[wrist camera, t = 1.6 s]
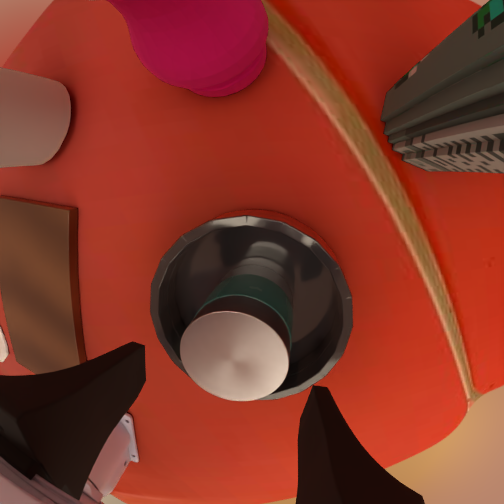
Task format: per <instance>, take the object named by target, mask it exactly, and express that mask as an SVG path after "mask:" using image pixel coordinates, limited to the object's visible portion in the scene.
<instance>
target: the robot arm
mask: <svg viewBox="0 0 504 504" xmlns="http://www.w3.org/2000/svg"><path fill="white" fill-rule="evenodd" d="M145 381H146V370H145V345H142V344H139V343H136V342H133V341H132V342H130V343H128V344H125V345H123V346H121V347H119V348H117V349H115V350H112V351H110V352H108V353H106V354H104V355H101V356H99V357H97V358H94V359H92V360H89V361H87V362H84V363H81V364H79V365H76V366H73V367H69V368H66V369H62V370H58V371H54V372H48V373H42V374H36V375H24V376H5V375H0V504H104V503H103V502H101V499H102V497H104V496H107V495H108V494H110V493H111V492H112V491H113V489H114V488H115V486H116V484H117V483H118V481H119V479H120V478H121V476H122V474H123V472H124V471H125V469H126V467H127V466H128V464H129V462H130V461H134V462H139V456H138V450H137V444H136V438H135V432H134V426H133V419H132V416H131V415H130V414H128V413H126V412H127V411H128V409H129V408H130V407H131V405H132V404H133V403H134V401H135V400H136V398H137V397H138V395H139V393H140V391H141V389H142V387H143V385H144V383H145ZM296 504H425V503H424V500H423V497H422V496H421V495H420V494H418V493H416V492H415V491H413V490H411V489H410V488H408V487H407V486H405V485H404V484H402V483H401V482H399V481H398V480H397V479H396V478H394V477H393V476H392V475H390V474H389V473H388V472H387V471H386V470H385V469H384V468H383V467H381V466H380V465H379V464H378V463H377V462H376V461H375V460H374V459H373V458H372V457H371V456H370V454H369V453H368V452H367V451H366V450H365V449H364V447H363V446H362V445H361V444H360V442H359V441H358V440H357V438H356V437H355V435H354V434H353V432H352V431H351V429H350V428H349V426H348V424H347V423H346V421H345V419H344V418H343V416H342V414H341V412H340V411H339V409H338V407H337V405H336V403H335V401H334V399H333V397H332V395H331V393H330V391H329V389H328V388H327V387H321V386H314V385H313V387H312V389H311V392H310V395H309V397H308V400H307V403H306V405H305V408H304V410H303V413H302V415H301V418H300V425H299V434H298V490H297V498H296Z"/></svg>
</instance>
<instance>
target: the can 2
mask: <svg viewBox="0 0 504 504" xmlns="http://www.w3.org/2000/svg"><path fill="white" fill-rule="evenodd" d="M381 121H384V122H386V125H385V129H384V134H385V135H388V136H389V139H388V142H389V143H392V144H393V148H392V150H394V151H396V152H399V153H401V154H403V156H402V161H405V162H407V163H410V164H412V165H414V166H417V167H419V168H421V169H424V170H426V171H454V172H486V173H504V0H489V1H488V2H487V3H486V4H485V5H483V6H482V7H481V8H480V9H479V10H478V11H476V12H475V13H474V14H473V15H472V16H471V17H469V18H468V19H467V20H466V21H465V22H464V23H462V24H461V25H460V26H459V27H458V28H457V29H456V30H454V31H453V32H452V33H451V34H450V35H449V36H448V37H447V38H445V39H444V40H443V41H442V42H441V43H440V44H439V45H438V46H436V47H435V48H434V49H433V50H432V51H431V52H430V53H429V54H427V55H426V56H425V57H424V58H423V59H422V60H421V61H420V62H419V63H417V64H416V65H415V66H414V67H413V68H412V69H411V70H410V71H409V72H408V73H406V74H405V75H404V76H403V77H402V78H401V79H400V80H399V81H398V82H397V83H396V84H394V86H393V87H392V88H391V89H390V90H389V91H388V92H387V93H386V97H385V102H384V106H383V111H382V115H381Z"/></svg>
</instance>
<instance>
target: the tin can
mask: <svg viewBox="0 0 504 504" xmlns="http://www.w3.org/2000/svg"><path fill="white" fill-rule="evenodd" d="M292 327H293V297H292V293H291V290H290V288H289V286H288V284H287V283H286V281H285V280H284V279H283V278H282V277H281V276H280V275H279V274H278V273H276V272H275V271H273V270H271V269H269V268H266V267H263V266H258V265H246V266H241V267H238V268H236V269H234V270H232V271H230V272H229V273H228V274H226V275H225V276H224V278H223V279H222V280H221V282H220V283H219V284H218V285H217V286H216V287H215V288H214V290H213V291H212V293H211V294H210V295H209V297H208V298H207V299H206V301H205V302H204V304H203V305H202V306H201V308H200V309H199V310H198V312H197V313H196V315H195V317H194V319H193V320H192V322H191V323H190V324H189V326H188V327H187V329H186V330H185V332H184V334H183V336H182V339H181V343H180V355H181V360H182V363H183V366H184V368H185V370H186V371H187V373H188V375H189V376H190V377H191V378H192V380H193V381H194V382H195V383H196V384H197V385H199V386H200V387H201V388H202V389H204V390H206V391H207V392H209V393H211V394H213V395H215V396H217V397H220V398H223V399H227V400H232V401H251V400H256V399H259V398H262V397H265V396H267V395H269V394H271V393H272V392H273V391H275V390H276V389H277V388H278V387H279V386H280V385H281V384H282V383H283V381H284V379H285V378H286V375H287V373H288V368H289V359H290V351H291V344H292Z"/></svg>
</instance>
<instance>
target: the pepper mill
mask: <svg viewBox="0 0 504 504" xmlns="http://www.w3.org/2000/svg"><path fill="white" fill-rule="evenodd" d="M107 1H109V2H110V3H111V4H112V5H113V6H114V7H115V8H116V9H117V10H118V11H119V12H120V13H121V14H122V15H123V17H124V19H125V20H126V22H127V25H128V28H129V32H130V37H131V42H132V45H133V48H134V51H135V52H136V54H137V56H138V58H139V59H140V61H141V62H142V64H143V65H144V66H145V67H146V68H147V69H148V70H149V71H150V72H151V73H152V74H154V75H155V76H156V77H157V78H159V79H160V80H162V81H163V82H166V83H168V84H170V85H173V86H178V87H182V88H188V89H189V90H191V91H192V92H194V93H196V94H199V95H203V96H207V97H220V96H227V95H230V94H233V93H236V92H238V91H240V90H242V89H244V88H245V87H247V86H248V85H250V84H251V83H252V82H253V81H254V80H255V79H256V78H257V77H258V76H259V74H260V72H261V71H262V69H263V67H264V65H265V62H266V55H267V48H266V43H265V42H266V39H267V35H268V17H267V14H266V11H265V8H264V6H263V4H262V1H261V0H107Z"/></svg>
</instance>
